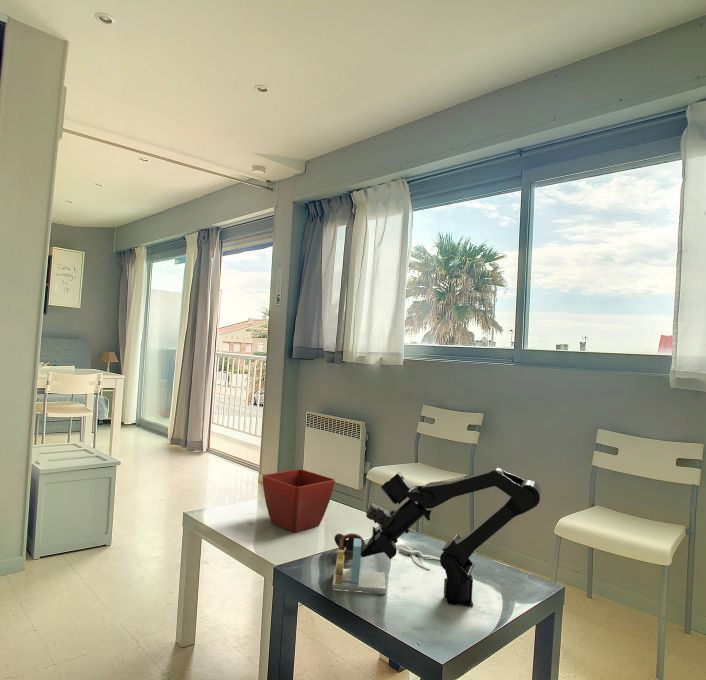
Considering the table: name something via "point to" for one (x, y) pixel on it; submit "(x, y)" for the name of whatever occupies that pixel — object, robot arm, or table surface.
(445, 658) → the table surface
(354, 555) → the clip bar
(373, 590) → the block holder base
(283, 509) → the plant pot
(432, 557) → the pliers
